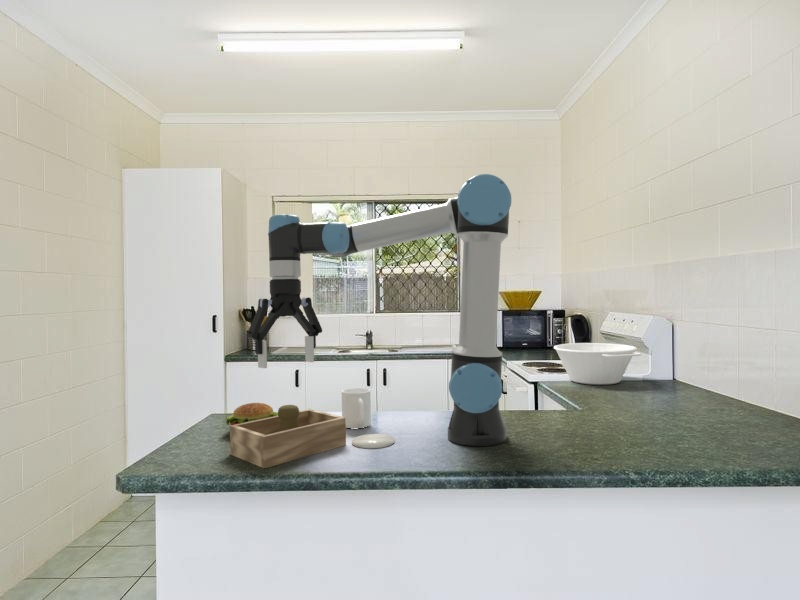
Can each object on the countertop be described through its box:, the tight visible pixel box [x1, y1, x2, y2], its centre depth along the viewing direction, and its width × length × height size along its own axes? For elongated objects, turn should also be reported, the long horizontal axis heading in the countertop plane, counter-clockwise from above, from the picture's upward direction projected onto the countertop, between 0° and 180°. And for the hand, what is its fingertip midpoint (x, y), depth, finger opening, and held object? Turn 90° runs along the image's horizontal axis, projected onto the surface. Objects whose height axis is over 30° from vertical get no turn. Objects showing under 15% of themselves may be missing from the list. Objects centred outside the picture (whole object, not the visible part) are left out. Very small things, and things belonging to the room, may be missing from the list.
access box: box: [229, 408, 347, 469], centre depth 132 cm, size 15×23×7 cm, turn 135°
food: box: [225, 402, 278, 426], centre depth 150 cm, size 14×14×8 cm
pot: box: [553, 342, 642, 386], centre depth 217 cm, size 40×32×14 cm
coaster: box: [351, 433, 396, 450], centre depth 137 cm, size 11×11×1 cm
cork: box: [277, 404, 300, 432], centre depth 132 cm, size 6×6×11 cm
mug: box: [341, 387, 372, 428], centre depth 152 cm, size 12×8×10 cm
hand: (287, 364), depth 132 cm, fingers open, 13 cm apart
